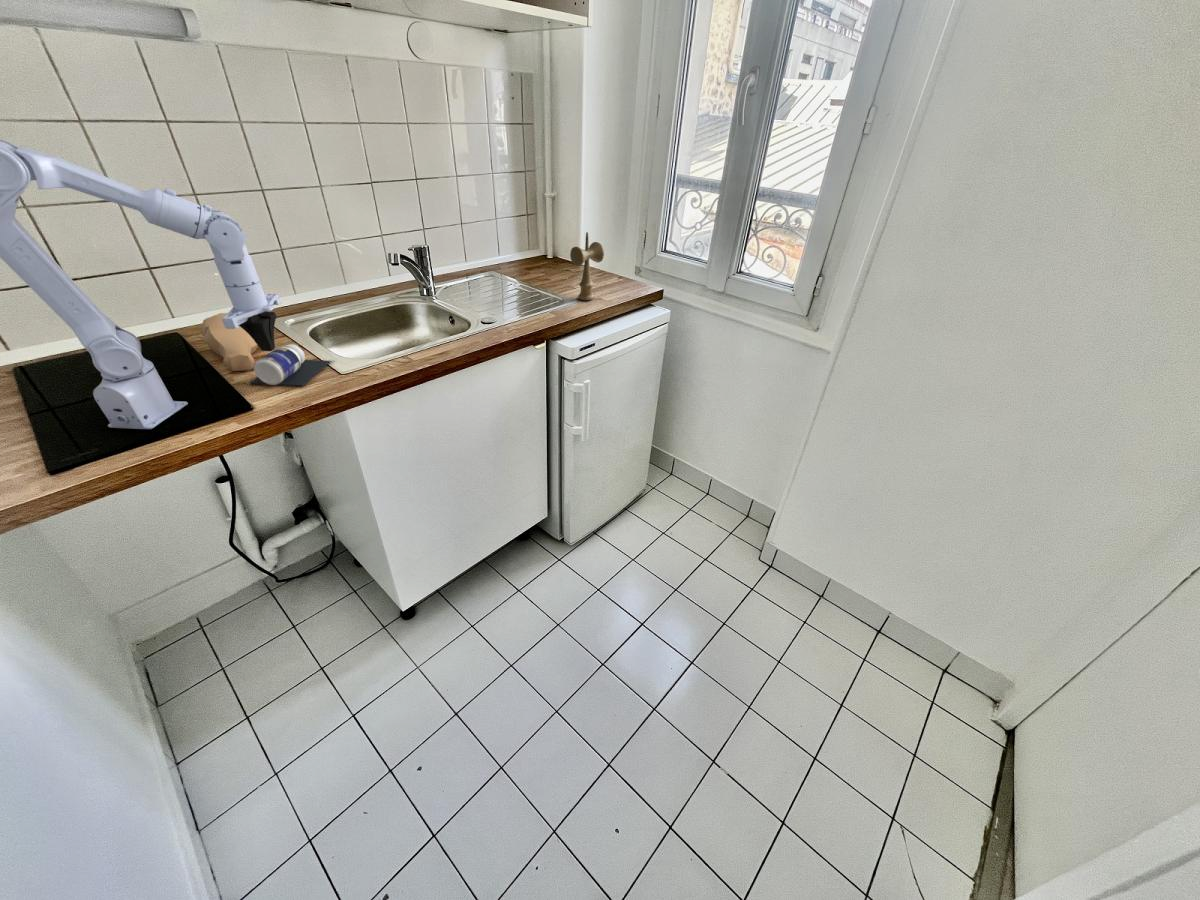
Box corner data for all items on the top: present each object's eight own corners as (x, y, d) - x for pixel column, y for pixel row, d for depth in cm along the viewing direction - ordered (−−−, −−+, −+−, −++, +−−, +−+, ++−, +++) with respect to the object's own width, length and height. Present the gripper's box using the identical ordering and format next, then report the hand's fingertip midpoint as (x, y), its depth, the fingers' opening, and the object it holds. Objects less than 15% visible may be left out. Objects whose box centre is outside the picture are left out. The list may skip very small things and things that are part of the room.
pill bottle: (256, 355, 98) (284, 336, 106) (250, 376, 100) (278, 356, 109) (284, 370, 99) (310, 351, 107) (278, 390, 102) (304, 370, 110)
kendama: (603, 298, 156) (605, 231, 145) (581, 304, 150) (582, 235, 139) (590, 293, 159) (591, 228, 148) (568, 299, 154) (568, 232, 142)
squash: (256, 338, 122) (250, 304, 117) (274, 377, 111) (269, 341, 106) (202, 341, 116) (193, 305, 111) (216, 383, 105) (207, 345, 100)
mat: (302, 386, 102) (301, 385, 102) (250, 384, 103) (250, 382, 102) (330, 362, 112) (329, 360, 112) (283, 360, 112) (282, 358, 112)
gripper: (238, 295, 86) (266, 365, 94) (284, 272, 98) (306, 336, 105) (199, 294, 86) (230, 364, 94) (250, 271, 98) (274, 335, 106)
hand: (268, 349), depth 100 cm, fingers closed
